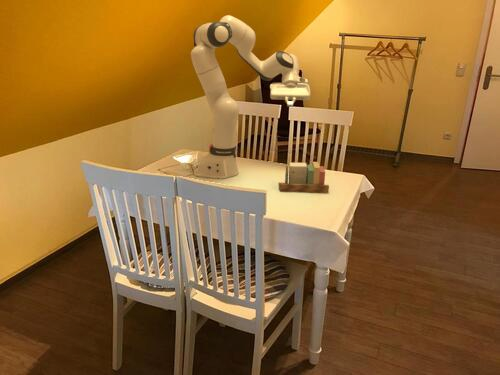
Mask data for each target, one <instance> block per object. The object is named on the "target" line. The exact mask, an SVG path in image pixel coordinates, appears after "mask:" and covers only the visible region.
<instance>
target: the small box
mask: <svg viewBox="0 0 500 375" xmlns="http://www.w3.org/2000/svg"><path fill="white" fill-rule="evenodd" d="M288 165H289V166H288V183H290V184H306V176H307V165H308V164H307V162H289V164H288Z"/></svg>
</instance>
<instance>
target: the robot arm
mask: <svg viewBox="0 0 500 375" xmlns="http://www.w3.org/2000/svg"><path fill="white" fill-rule="evenodd" d="M192 38H193V49H192V50H191V52H190V58H191V62H192V66H193V69H194V70H195V73H196V75H197V78H198V80H199V82H200V85H201V87H202V89H203V92H204V95H205V97H206V100H207V102H208V106H209V108H210V110H211V112H212V113H213V114H214V124H213V129H212V143H210V145H209V149H208V151H209V152H208V153H207V154H206V155H204V156H203V157H202V158H201V159H200V160H199V163H198V166H197V167H198V168H197V167H196V168H197V169H196V168H195V169H194V171H193V175H194V176H195V177H200V178H201V177H202V178H208V179H209V178H210V179H218V178H219V179H220V180H223V179H228V178H231V177H232V178H233V177H235V176H237V175H239V169H238V165H237V164H238V163H237V145H236V132H237V131H236V129H237V124H238V116H239V114H240V107H239V104H238V103H237V101H236V100H235V99H234V98H232V97H231V96H230V94H229V90H228V86H227V83H226V80H225V77H224V75H223V74H224V73H223V71H222V69H221V66H220V65H219V62H218V60H217V58H216V54H215V51H216V48H217V49H218V48H222V47H224V46H225V45H226V44H228V43H230V44H231V45H233V46H234V47H235V48H236V52H237V55H238V56H239V57H240V58H241V60H242V61H244V62H245V63H246V64H247V65H248V66H249V67H250V68H251V69H252V70H254V71H255V72H256V74H257V75H258V76H259V78H261V79H262V80H263V81H265V82H266V81H267V82H269V81H270V82H271V81H272V80H274V78H276V76H278V75H280V74H281V75H282V77H281V82H272V83H271V84H270V85H269V89H270V94H269V96H270V97H269V98H270V99H271V100H281V101H282V100H284V102H285V103H286V105H287V107H293V106H294V103H295V102H296V101H309V100H310V99H311V87H310V85H309V81H308V78H304V77H301V76H300V75H299V73H300V62H299V58H298V57H297V55H295V54H293V53H287V52H286V51H282V50H277V51H276V52H274V53H273V54H272V55H270V57H268V58H266V59H265V60H260V59H259V58H258V57H257V56H256V55H255V54H254V53H253V52H252V51H253V49H254V47H255V44H256V38H257V37H256V32H255V30H253V29H252V27H250V26H249V25H248V24H247V23H245V22H244V21H243V20H240V19H239V18H236V17H234V16H232V15H230V14H228V15H224V16H223V17H221V18H220V20H219V21H215V22H207V23H204V24H200V25H199V26H197V27H196V28H195V30H194V31H193V37H192ZM290 100H291V101H290Z"/></svg>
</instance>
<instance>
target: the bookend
mask: <svg viewBox="0 0 500 375" xmlns="http://www.w3.org/2000/svg"><path fill="white" fill-rule="evenodd" d="M280 183H281V182H278V191H280ZM284 183H289V166H288V165H285V174H284Z"/></svg>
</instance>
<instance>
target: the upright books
mask: <svg viewBox="0 0 500 375" xmlns="http://www.w3.org/2000/svg"><path fill="white" fill-rule="evenodd" d="M306 165H307V176H306V184H319V185H325V182H326V181H325V179H326V178H325V177H326V170H325V167H324V166H323V165H320V163H319V161H312V164H306Z"/></svg>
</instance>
